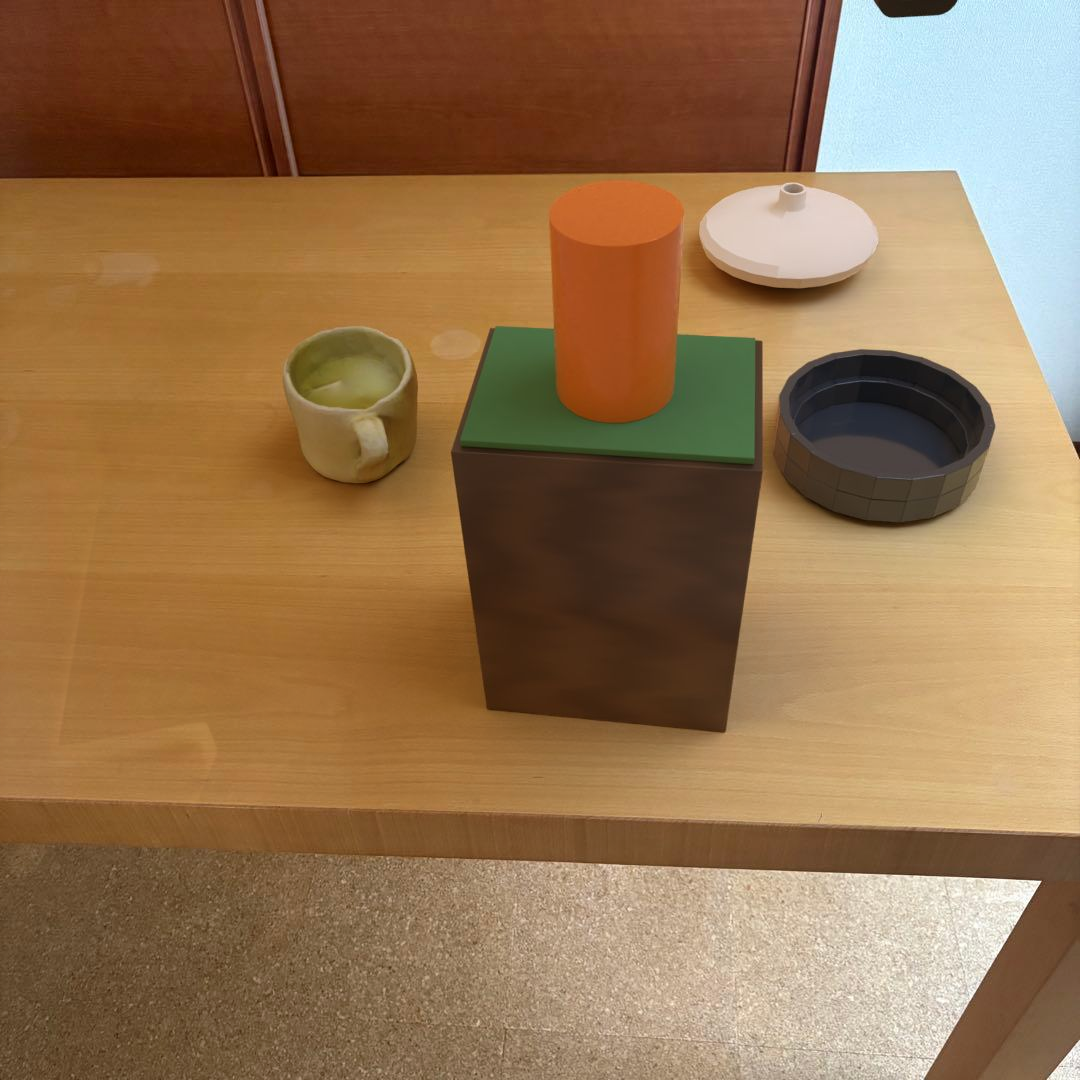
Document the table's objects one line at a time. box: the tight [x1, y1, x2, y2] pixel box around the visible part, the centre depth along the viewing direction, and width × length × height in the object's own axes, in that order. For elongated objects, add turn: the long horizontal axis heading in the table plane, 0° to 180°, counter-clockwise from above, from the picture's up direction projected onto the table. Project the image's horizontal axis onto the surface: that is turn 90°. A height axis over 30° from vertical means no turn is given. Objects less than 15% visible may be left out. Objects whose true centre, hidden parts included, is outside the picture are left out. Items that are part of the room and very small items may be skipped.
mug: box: [282, 325, 419, 484], centre depth 75 cm, size 12×10×10 cm
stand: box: [450, 327, 764, 733], centre depth 57 cm, size 14×10×20 cm
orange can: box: [548, 179, 685, 423], centre depth 46 cm, size 6×6×9 cm
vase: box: [698, 182, 880, 289], centre depth 92 cm, size 16×16×7 cm
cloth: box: [460, 325, 756, 464], centre depth 50 cm, size 13×9×1 cm
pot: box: [772, 348, 996, 523], centre depth 74 cm, size 14×14×4 cm
